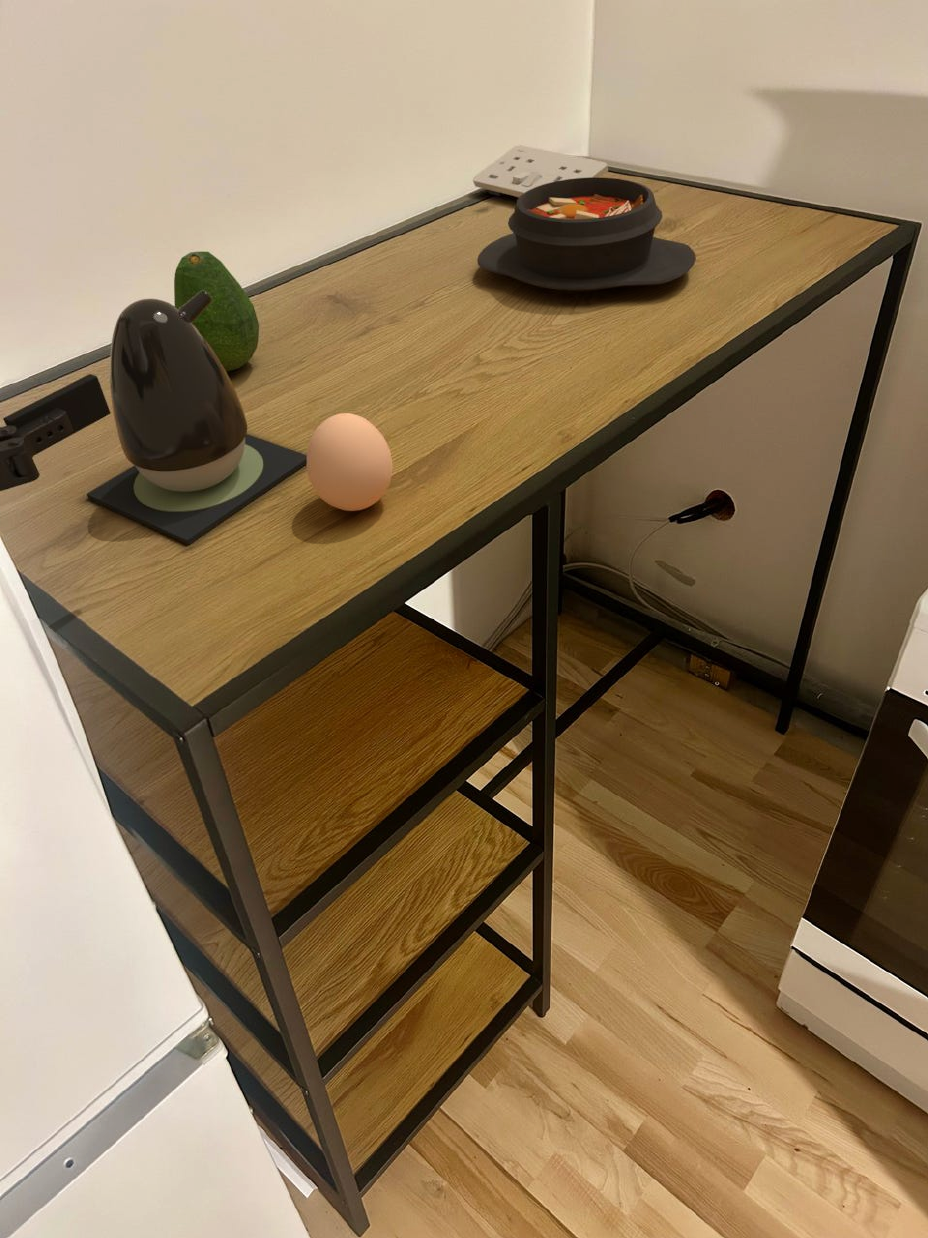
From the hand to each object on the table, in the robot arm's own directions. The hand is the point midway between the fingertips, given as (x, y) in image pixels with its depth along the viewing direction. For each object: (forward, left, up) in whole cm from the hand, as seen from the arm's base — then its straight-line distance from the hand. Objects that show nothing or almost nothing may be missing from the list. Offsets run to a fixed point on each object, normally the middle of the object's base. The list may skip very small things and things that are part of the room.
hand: (41, 371), depth 64 cm
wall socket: (-13, +84, -15) cm, 86 cm away
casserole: (+7, +63, -15) cm, 65 cm away
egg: (+15, +14, -15) cm, 25 cm away
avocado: (-13, +26, -15) cm, 32 cm away
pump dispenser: (0, +10, -14) cm, 17 cm away
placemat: (0, +10, -14) cm, 17 cm away
